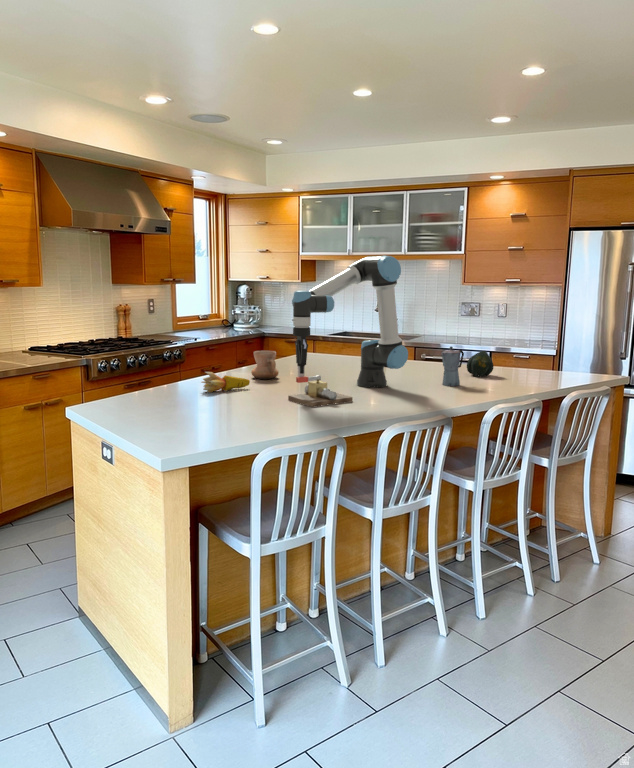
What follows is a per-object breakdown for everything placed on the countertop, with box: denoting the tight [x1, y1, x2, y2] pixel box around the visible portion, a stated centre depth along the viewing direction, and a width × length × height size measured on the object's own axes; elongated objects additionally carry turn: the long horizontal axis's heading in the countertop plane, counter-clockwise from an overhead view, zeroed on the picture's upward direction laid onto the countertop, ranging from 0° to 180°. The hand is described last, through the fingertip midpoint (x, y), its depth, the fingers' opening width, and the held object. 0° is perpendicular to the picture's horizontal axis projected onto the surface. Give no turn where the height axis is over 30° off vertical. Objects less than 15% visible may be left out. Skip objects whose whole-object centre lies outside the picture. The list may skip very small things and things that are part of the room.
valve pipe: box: [304, 380, 337, 400], centre depth 273 cm, size 6×19×7 cm, turn 36°
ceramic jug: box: [251, 350, 279, 380], centre depth 330 cm, size 18×14×14 cm
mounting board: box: [287, 392, 353, 408], centre depth 274 cm, size 22×18×2 cm
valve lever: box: [295, 374, 322, 384], centre depth 271 cm, size 12×3×2 cm, turn 126°
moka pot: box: [441, 346, 465, 387], centre depth 318 cm, size 10×15×20 cm, turn 127°
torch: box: [200, 371, 251, 393], centre depth 294 cm, size 8×8×25 cm
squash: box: [466, 350, 495, 377], centre depth 350 cm, size 14×15×15 cm
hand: (301, 380), depth 272 cm, fingers closed
